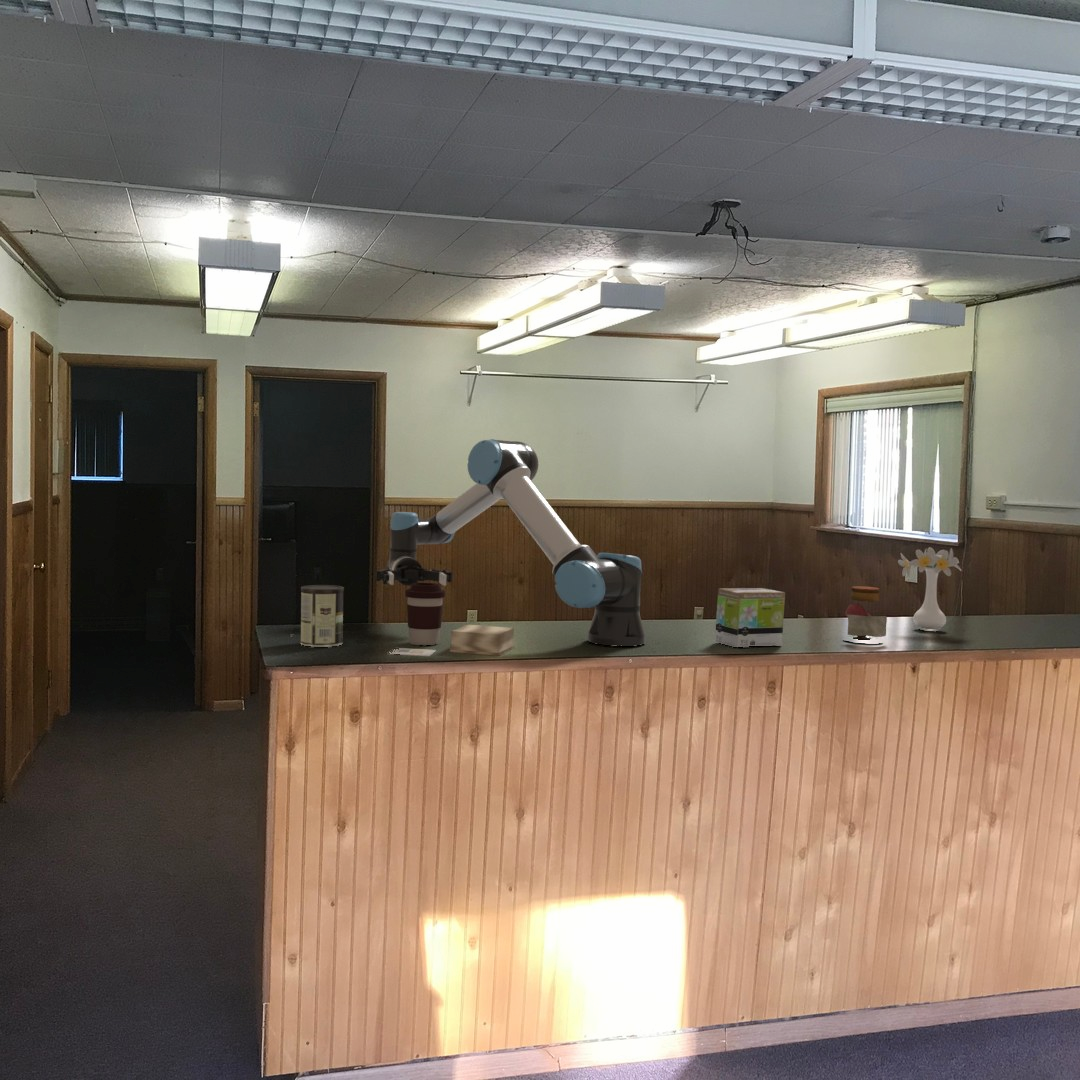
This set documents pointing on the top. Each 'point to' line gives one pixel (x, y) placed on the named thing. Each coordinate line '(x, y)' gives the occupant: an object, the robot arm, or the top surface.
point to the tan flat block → (482, 640)
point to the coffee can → (322, 615)
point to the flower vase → (930, 584)
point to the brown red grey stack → (864, 615)
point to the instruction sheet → (413, 652)
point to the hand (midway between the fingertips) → (418, 580)
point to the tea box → (749, 617)
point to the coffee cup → (424, 613)
